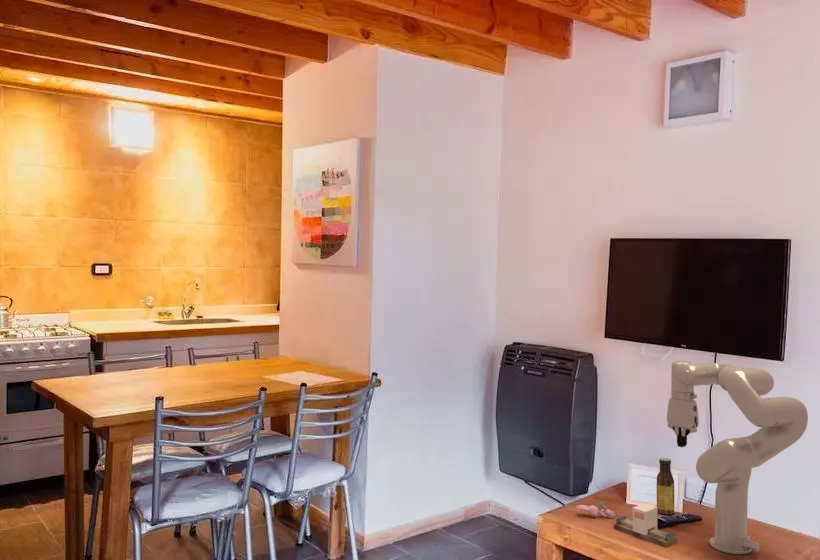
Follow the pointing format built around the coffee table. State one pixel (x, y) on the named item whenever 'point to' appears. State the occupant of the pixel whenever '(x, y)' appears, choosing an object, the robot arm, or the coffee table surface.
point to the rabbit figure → (594, 510)
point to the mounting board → (646, 537)
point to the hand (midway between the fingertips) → (681, 446)
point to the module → (644, 518)
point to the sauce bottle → (665, 488)
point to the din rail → (652, 531)
